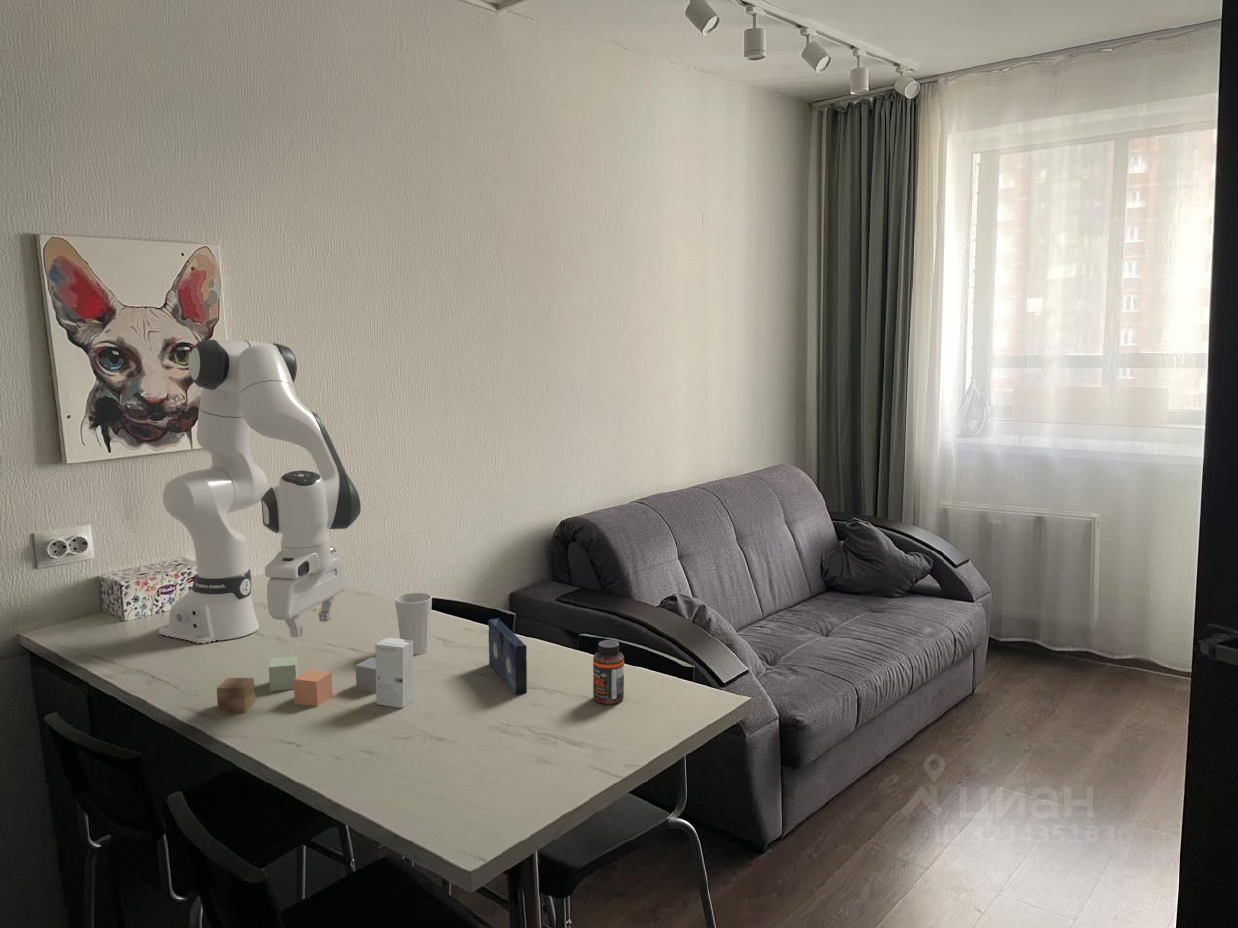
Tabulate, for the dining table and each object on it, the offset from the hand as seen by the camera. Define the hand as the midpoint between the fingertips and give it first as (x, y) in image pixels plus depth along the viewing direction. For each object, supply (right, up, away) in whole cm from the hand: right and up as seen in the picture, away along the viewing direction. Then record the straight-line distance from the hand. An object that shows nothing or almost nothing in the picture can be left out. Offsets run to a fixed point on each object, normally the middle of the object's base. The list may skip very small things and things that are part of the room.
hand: (311, 628), depth 180 cm
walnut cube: (-14, -15, -1) cm, 20 cm away
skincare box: (+16, -15, +1) cm, 22 cm away
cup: (+14, -10, +29) cm, 34 cm away
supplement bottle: (+57, -14, +2) cm, 59 cm away
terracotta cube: (0, -14, +2) cm, 15 cm away
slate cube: (+10, -13, +9) cm, 19 cm away
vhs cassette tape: (+36, -13, +13) cm, 40 cm away
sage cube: (-9, -13, +10) cm, 18 cm away
